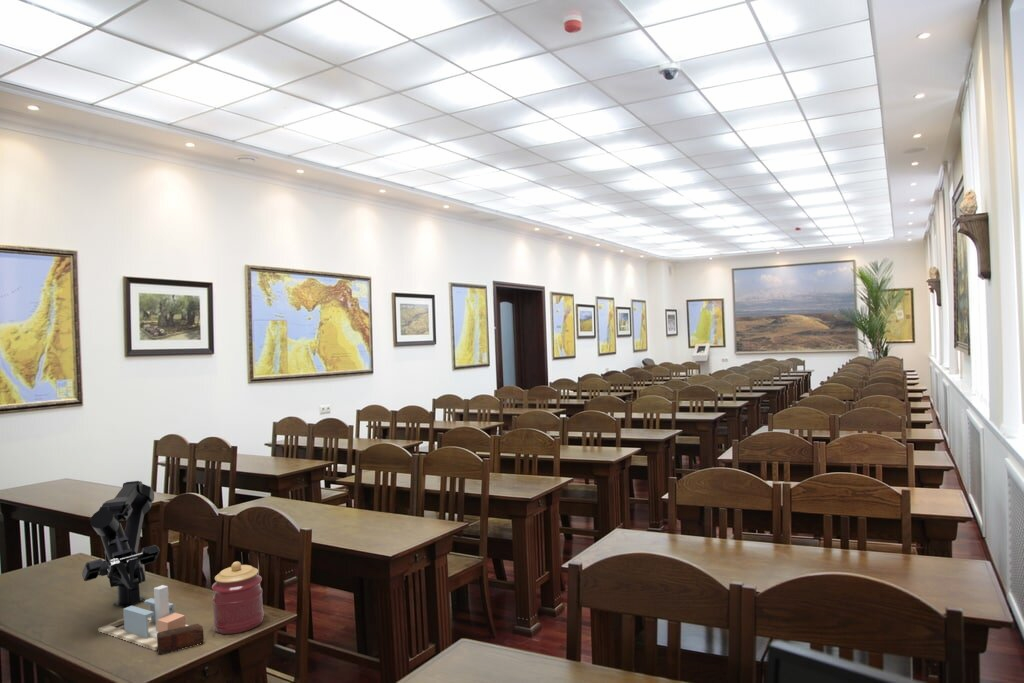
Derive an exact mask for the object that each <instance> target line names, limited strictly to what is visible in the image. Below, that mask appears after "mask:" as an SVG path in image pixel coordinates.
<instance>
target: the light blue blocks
mask: <svg viewBox="0 0 1024 683" xmlns="http://www.w3.org/2000/svg"><path fill="white" fill-rule="evenodd" d="M143 604H145V605H148V606H150V610H147V609H146V608H145V609H144V608H141V607H138V606H135V605H131V606H128V607H126V608H123V618H124V630H125V632H128V633H131V634H134V635H137V636H140V637H143V638H146V639H147V638H149V634H148V617H150V616H151V621H154V622H155V603H154V597H151V598H148V599H145V600H144V601H143ZM169 613H170V614H173V613H175V603H171V602H169Z"/></svg>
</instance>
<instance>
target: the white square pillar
mask: <svg viewBox="0 0 1024 683" xmlns="http://www.w3.org/2000/svg"><path fill="white" fill-rule="evenodd" d="M169 596H170V595H169V586H168V585H164V584H161V585H159V586H155V587H153V598H154V603H155V622H156V630H155V631H153V632H150V633H149V636H150V637H153V638H156V639H157V633H159V632H162V631H166V630H171V629H177V628H180V627H185V626H186V625H187V624H186V615H184V614H181V613H178V612H174V613H173V614H170V613H169V603H170V600H169V599H170V597H169Z"/></svg>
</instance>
